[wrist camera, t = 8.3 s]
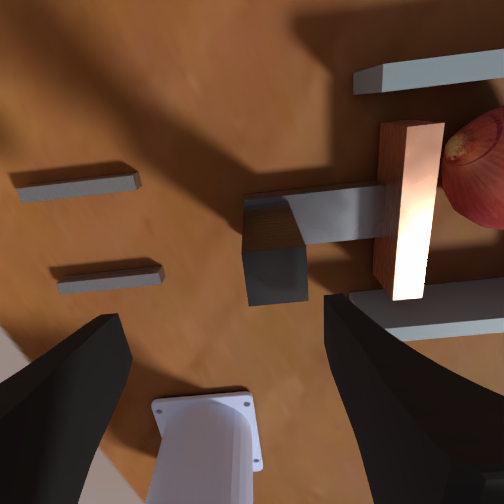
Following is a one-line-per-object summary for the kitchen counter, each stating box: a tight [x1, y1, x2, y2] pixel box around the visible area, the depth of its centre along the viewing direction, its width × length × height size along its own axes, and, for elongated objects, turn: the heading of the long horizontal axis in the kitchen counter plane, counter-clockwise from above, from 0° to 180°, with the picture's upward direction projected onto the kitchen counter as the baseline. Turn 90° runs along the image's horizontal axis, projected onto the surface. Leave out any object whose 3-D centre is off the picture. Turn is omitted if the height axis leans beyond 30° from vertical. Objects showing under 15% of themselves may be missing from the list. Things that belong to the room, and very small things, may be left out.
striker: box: [241, 120, 445, 306], centre depth 16 cm, size 9×9×7 cm
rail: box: [16, 172, 165, 294], centre depth 19 cm, size 7×6×1 cm
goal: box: [349, 49, 504, 341], centre depth 17 cm, size 14×13×4 cm
